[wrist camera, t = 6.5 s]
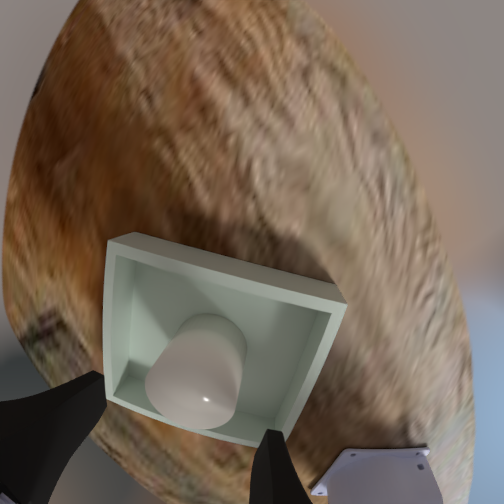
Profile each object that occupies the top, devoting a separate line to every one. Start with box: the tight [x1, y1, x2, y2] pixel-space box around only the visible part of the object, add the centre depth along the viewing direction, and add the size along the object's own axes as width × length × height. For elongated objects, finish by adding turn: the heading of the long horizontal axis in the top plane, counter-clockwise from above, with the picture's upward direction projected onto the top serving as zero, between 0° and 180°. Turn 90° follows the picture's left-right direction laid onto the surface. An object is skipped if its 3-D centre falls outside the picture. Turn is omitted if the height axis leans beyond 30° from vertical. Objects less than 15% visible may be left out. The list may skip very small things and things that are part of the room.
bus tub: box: [103, 232, 348, 448], centre depth 16 cm, size 12×11×3 cm
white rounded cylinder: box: [145, 313, 247, 429], centre depth 14 cm, size 4×4×5 cm
